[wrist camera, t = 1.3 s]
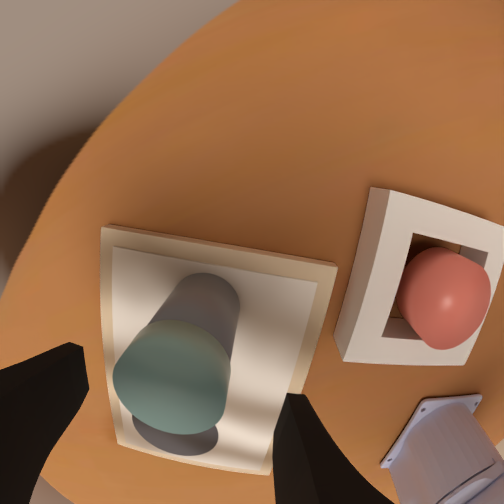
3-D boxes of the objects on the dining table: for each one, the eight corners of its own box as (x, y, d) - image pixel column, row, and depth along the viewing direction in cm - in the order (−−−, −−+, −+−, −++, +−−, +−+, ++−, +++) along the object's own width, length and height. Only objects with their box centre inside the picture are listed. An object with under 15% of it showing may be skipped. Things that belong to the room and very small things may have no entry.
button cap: (447, 327, 16) (470, 350, 13) (385, 322, 16) (404, 348, 13) (472, 254, 15) (501, 268, 12) (410, 239, 15) (437, 253, 12)
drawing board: (268, 467, 23) (268, 477, 21) (121, 436, 23) (116, 446, 21) (334, 262, 18) (339, 269, 16) (108, 224, 18) (98, 227, 16)
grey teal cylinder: (235, 342, 18) (218, 443, 10) (168, 329, 18) (117, 417, 10) (247, 278, 17) (232, 362, 9) (173, 264, 17) (108, 334, 9)
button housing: (445, 344, 19) (464, 365, 16) (332, 335, 19) (342, 361, 16) (485, 221, 16) (511, 229, 13) (370, 186, 16) (390, 189, 13)
